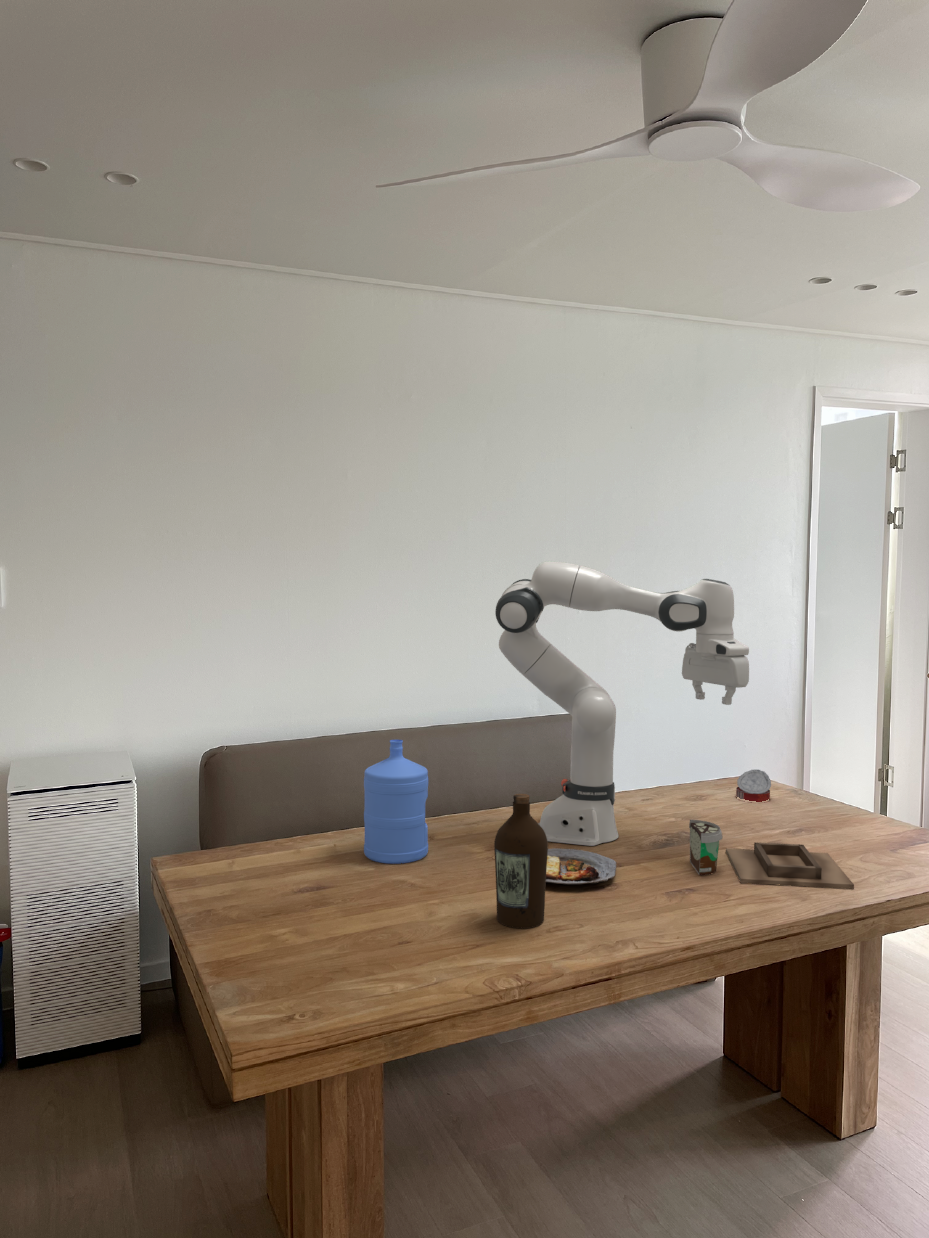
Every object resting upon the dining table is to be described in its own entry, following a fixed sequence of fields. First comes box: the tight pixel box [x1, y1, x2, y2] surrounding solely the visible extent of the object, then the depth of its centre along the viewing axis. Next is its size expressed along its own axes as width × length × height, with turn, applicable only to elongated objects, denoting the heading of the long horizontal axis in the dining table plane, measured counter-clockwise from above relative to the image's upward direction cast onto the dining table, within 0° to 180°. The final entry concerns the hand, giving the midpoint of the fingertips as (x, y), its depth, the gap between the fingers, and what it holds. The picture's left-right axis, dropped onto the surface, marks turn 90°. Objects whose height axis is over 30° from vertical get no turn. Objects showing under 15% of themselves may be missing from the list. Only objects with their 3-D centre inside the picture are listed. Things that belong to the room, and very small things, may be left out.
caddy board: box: [725, 841, 855, 890], centre depth 209 cm, size 24×22×4 cm
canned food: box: [735, 769, 772, 802], centre depth 273 cm, size 11×10×10 cm
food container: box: [688, 819, 723, 876], centre depth 209 cm, size 12×6×10 cm, turn 179°
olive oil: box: [493, 793, 549, 929], centre depth 178 cm, size 11×11×25 cm
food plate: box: [546, 847, 617, 886], centre depth 206 cm, size 25×23×4 cm
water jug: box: [363, 739, 429, 865], centre depth 218 cm, size 16×16×28 cm
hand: (713, 701), depth 220 cm, fingers open, 8 cm apart
